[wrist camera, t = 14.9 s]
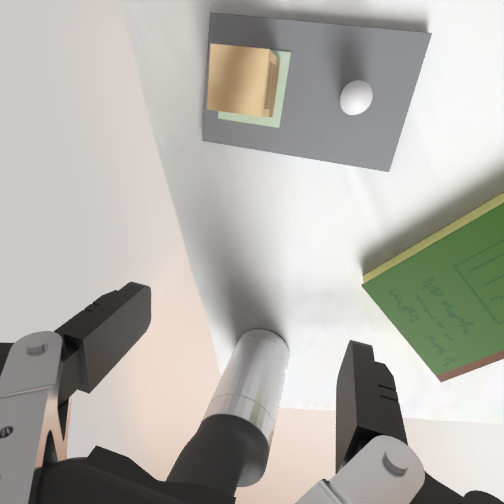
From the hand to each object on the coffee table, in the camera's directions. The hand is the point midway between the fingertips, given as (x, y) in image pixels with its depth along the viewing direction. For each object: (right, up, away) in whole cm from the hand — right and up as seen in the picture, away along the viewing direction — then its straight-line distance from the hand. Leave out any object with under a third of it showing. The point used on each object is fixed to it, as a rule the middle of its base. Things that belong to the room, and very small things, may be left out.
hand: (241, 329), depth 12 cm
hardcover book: (+31, 0, +29) cm, 43 cm away
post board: (+7, +22, +26) cm, 35 cm away
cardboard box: (0, +23, +25) cm, 34 cm away
